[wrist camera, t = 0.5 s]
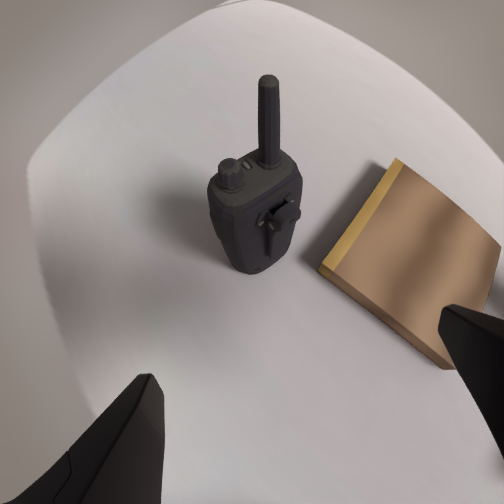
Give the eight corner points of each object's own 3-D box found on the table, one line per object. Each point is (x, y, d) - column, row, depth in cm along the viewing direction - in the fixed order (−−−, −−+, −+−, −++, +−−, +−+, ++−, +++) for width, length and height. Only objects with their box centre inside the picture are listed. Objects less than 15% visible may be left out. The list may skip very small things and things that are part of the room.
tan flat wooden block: (490, 254, 21) (501, 246, 19) (443, 369, 18) (456, 369, 16) (388, 170, 25) (395, 157, 23) (317, 271, 22) (321, 262, 20)
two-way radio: (274, 215, 24) (278, 50, 10) (309, 255, 22) (362, 103, 8) (219, 254, 23) (157, 104, 9) (253, 298, 21) (227, 179, 7)
